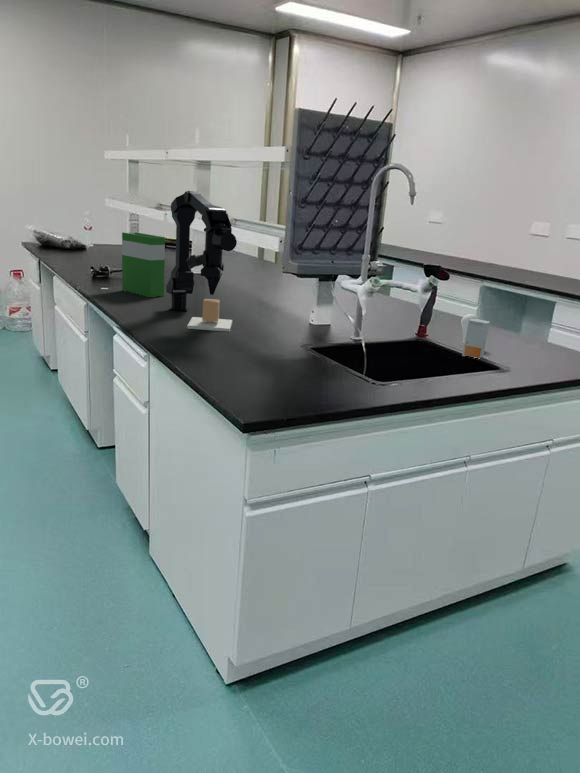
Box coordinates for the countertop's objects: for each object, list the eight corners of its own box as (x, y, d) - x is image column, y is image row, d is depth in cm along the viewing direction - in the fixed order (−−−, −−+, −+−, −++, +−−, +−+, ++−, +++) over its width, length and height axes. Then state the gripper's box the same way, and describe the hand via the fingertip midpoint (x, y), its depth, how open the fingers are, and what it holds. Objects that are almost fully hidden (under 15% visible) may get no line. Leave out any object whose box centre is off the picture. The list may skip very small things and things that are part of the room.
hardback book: (122, 290, 252) (122, 232, 244) (136, 289, 257) (136, 232, 250) (149, 297, 242) (150, 237, 235) (163, 296, 248) (164, 237, 240)
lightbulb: (465, 347, 204) (471, 316, 200) (453, 343, 209) (458, 312, 205) (478, 347, 206) (484, 316, 203) (466, 342, 211) (471, 312, 208)
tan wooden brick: (203, 317, 205) (204, 298, 203) (218, 318, 205) (219, 299, 203) (202, 320, 200) (203, 301, 198) (217, 321, 200) (218, 302, 198)
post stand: (192, 319, 209) (193, 297, 207) (232, 322, 210) (233, 300, 208) (187, 328, 196) (188, 304, 194) (229, 331, 197) (231, 307, 195)
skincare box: (461, 356, 192) (468, 319, 188) (464, 353, 195) (471, 318, 192) (480, 360, 189) (487, 323, 185) (483, 357, 193) (490, 321, 189)
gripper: (192, 242, 203) (191, 288, 208) (185, 248, 186) (183, 297, 191) (225, 245, 204) (222, 290, 209) (221, 251, 186) (218, 300, 191)
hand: (211, 294), depth 200 cm, fingers closed
